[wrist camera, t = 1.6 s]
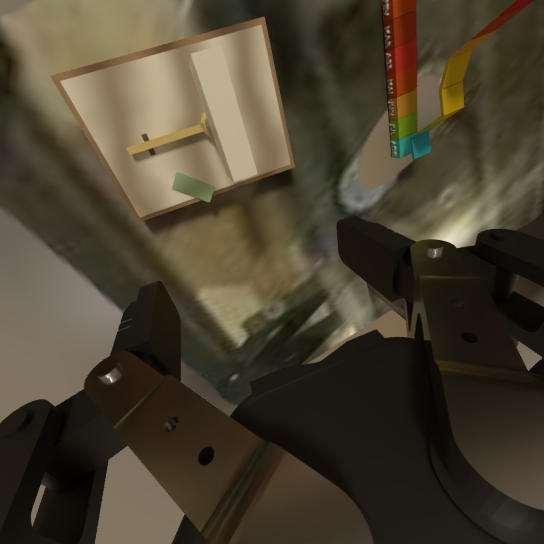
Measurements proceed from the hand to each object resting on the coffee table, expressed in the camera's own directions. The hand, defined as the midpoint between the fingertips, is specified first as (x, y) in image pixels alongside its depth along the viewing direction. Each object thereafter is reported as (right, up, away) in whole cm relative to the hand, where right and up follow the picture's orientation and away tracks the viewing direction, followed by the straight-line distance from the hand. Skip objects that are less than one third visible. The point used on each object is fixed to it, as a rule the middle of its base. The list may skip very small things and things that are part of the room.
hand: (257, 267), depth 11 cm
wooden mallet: (-9, +14, +15) cm, 22 cm away
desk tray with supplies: (-8, +16, +18) cm, 25 cm away
